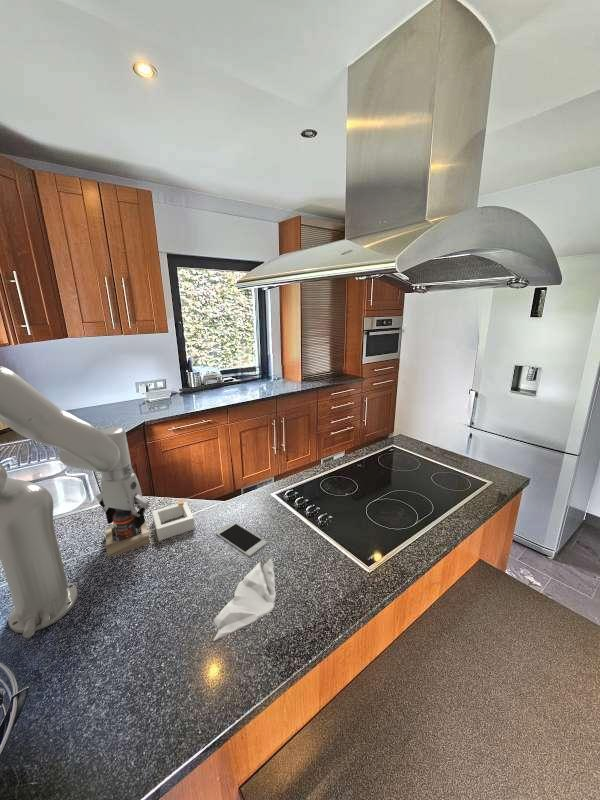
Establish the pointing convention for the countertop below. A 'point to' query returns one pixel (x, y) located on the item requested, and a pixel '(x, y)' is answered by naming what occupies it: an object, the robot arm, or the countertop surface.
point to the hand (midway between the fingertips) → (126, 523)
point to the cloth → (248, 600)
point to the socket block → (175, 526)
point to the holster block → (125, 541)
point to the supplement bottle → (124, 524)
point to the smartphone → (241, 539)
